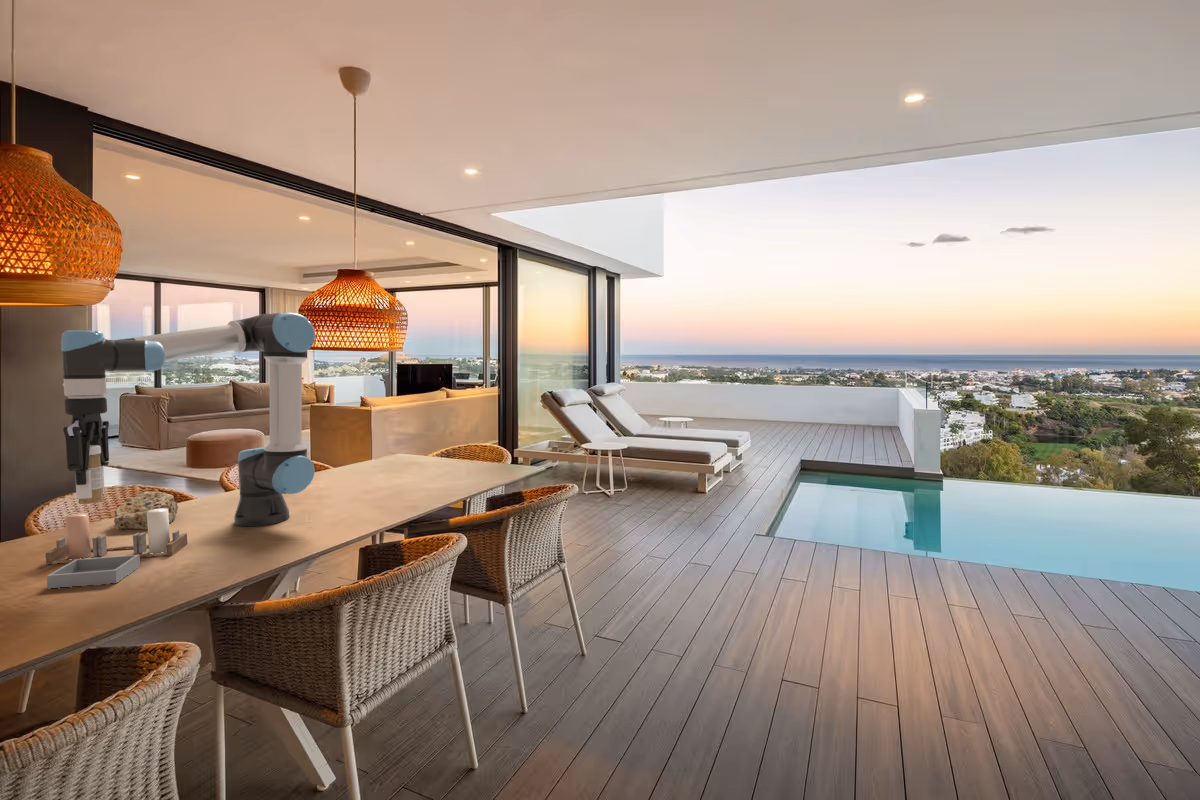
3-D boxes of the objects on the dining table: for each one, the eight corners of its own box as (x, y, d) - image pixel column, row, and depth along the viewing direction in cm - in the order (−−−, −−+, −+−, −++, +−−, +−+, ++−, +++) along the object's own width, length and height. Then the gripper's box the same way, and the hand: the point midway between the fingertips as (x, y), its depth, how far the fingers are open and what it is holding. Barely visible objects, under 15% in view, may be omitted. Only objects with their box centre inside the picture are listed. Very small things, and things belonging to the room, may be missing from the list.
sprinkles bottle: (76, 502, 142) (73, 446, 141) (101, 499, 145) (98, 444, 144) (79, 505, 138) (76, 448, 138) (105, 502, 142) (102, 446, 141)
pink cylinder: (95, 553, 159) (92, 512, 158) (85, 558, 154) (82, 517, 153) (74, 554, 158) (71, 513, 157) (64, 560, 153) (60, 518, 152)
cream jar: (173, 547, 163) (171, 507, 162) (166, 553, 159) (163, 512, 158) (153, 549, 162) (151, 509, 161) (145, 554, 158) (143, 513, 157)
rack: (187, 543, 166) (186, 526, 166) (172, 555, 157) (171, 536, 157) (69, 552, 159) (68, 533, 159) (46, 564, 150) (44, 545, 150)
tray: (140, 566, 149) (139, 554, 148) (116, 583, 138) (115, 570, 138) (76, 571, 145) (75, 559, 145) (47, 589, 135) (46, 575, 134)
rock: (173, 530, 182) (161, 500, 180) (116, 547, 177) (103, 517, 174) (186, 507, 201) (176, 480, 198) (135, 522, 195) (124, 494, 193)
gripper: (89, 394, 148) (93, 488, 149) (41, 399, 131) (47, 505, 132) (124, 394, 149) (128, 487, 151) (82, 399, 132) (87, 503, 134)
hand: (90, 495), depth 142 cm, fingers closed on sprinkles bottle, 4 cm apart
